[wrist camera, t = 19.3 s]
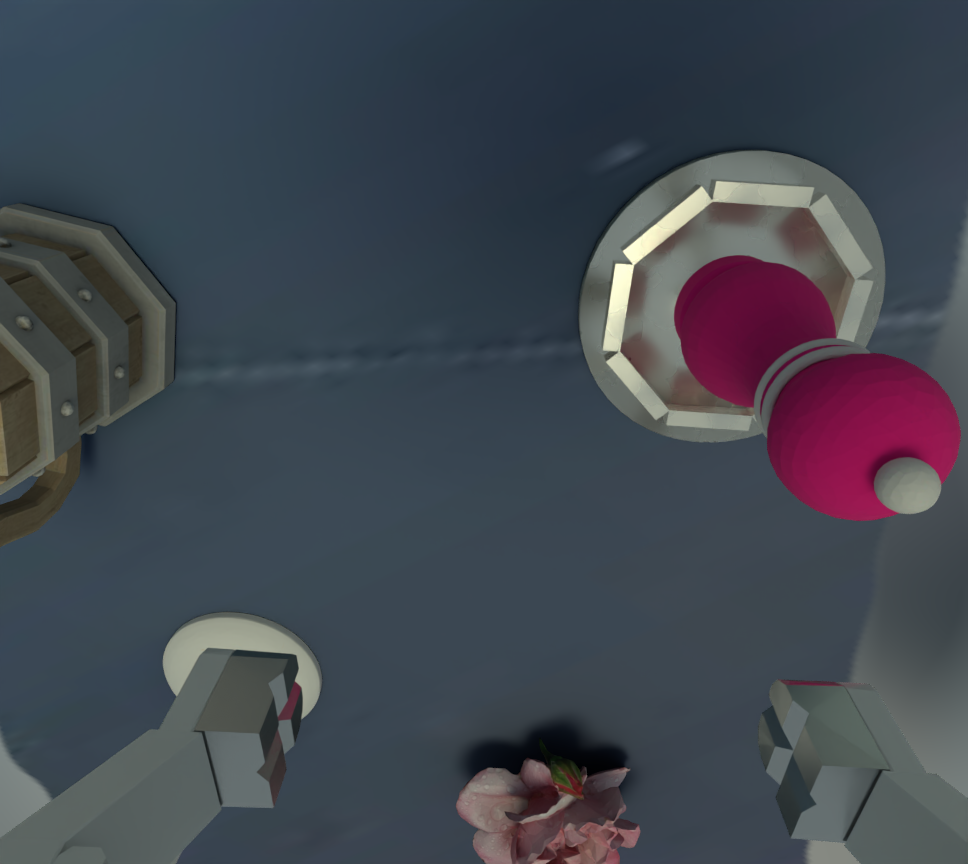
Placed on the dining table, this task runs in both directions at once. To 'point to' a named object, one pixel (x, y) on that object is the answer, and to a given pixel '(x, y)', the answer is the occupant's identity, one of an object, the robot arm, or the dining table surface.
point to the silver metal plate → (698, 241)
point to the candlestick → (239, 635)
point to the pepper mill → (817, 391)
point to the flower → (547, 814)
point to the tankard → (69, 350)
